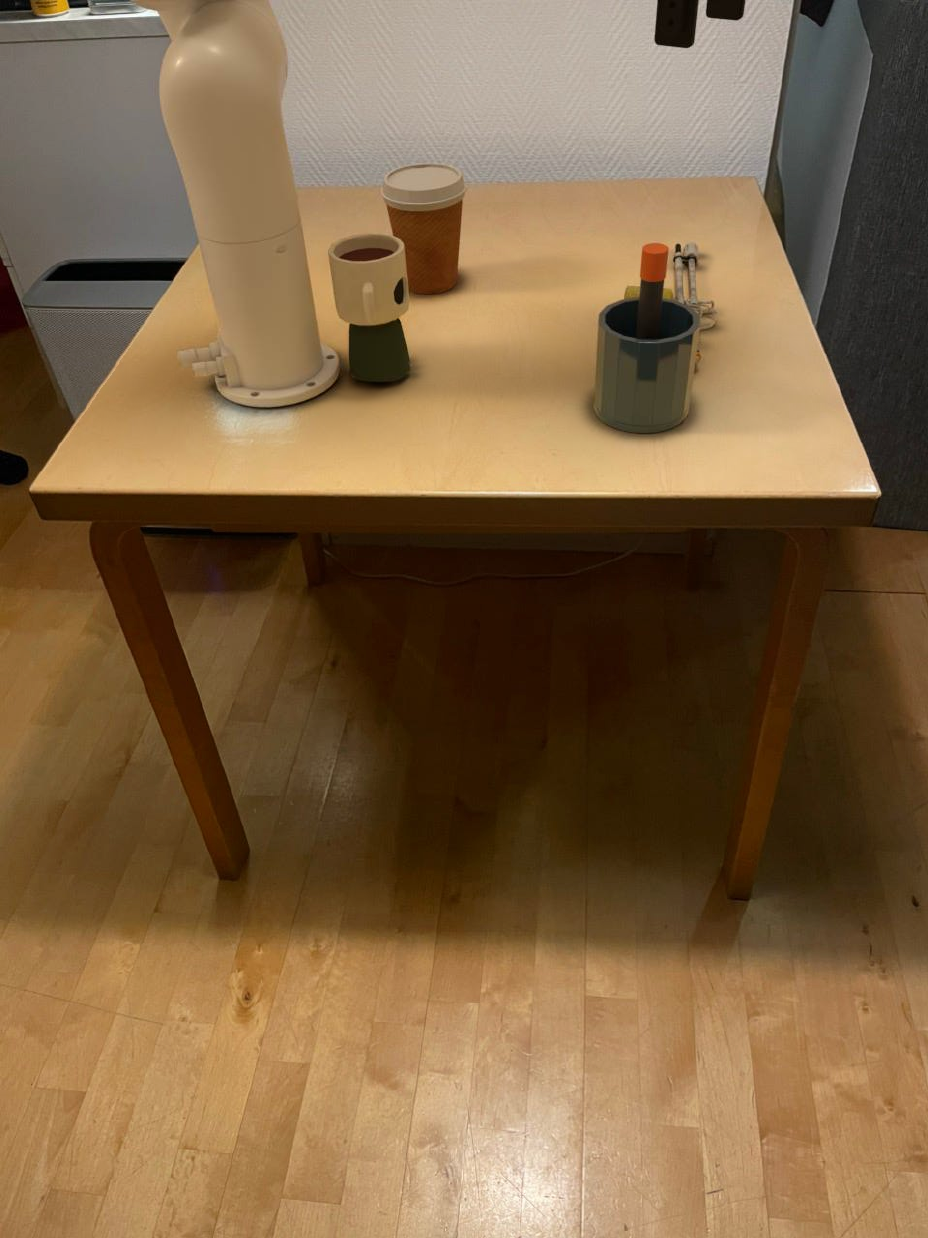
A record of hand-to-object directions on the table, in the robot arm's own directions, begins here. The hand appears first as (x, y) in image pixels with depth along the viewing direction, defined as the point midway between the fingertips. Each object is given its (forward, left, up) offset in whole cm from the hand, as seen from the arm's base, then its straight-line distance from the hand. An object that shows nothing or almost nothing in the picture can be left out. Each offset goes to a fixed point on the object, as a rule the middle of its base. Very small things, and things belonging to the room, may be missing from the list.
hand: (699, 31), depth 80 cm
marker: (-7, -9, -28) cm, 30 cm away
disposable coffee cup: (-19, +25, -29) cm, 42 cm away
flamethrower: (+4, +9, -29) cm, 31 cm away
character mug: (-29, +6, -29) cm, 41 cm away
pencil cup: (-7, -9, -29) cm, 31 cm away
